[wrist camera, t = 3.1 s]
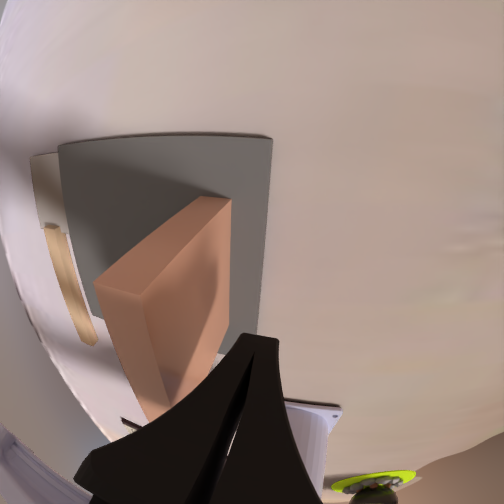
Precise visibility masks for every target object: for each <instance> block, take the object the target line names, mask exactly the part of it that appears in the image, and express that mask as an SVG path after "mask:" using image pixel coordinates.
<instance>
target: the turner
mask: <svg viewBox="0 0 504 504" xmlns="http://www.w3.org/2000/svg"><path fill="white" fill-rule="evenodd" d="M30 165H31V174H32V182H33V189H34V195H35V201H36V207H37V212H38V217H39V222H40V227H41V229H44V232H45V237H46V241H47V245H48V249H49V252H50V256H51V259H52V263H53V266H54V270H55V273H56V276H57V279H58V282H59V285H60V288H61V291H62V294H63V297H64V300H65V302H66V305H67V308H68V310H69V313H70V315H71V318H72V320H73V323H74V325H75V328H76V330H77V332H78V334H79V337H80V339H81V341H82V342H84V343H86V344H89V345H91V346H94V344H95V343H96V342H97V341H98V338H97V336H96V333H95V330H94V328H93V325H92V323H91V320H90V317H89V315H88V312H87V309H86V306H85V303H84V300H83V297H82V294H81V291H80V288H79V284H78V281H77V278H76V274H75V271H74V267H73V263H72V260H71V256H70V252H69V248H68V243H67V239H66V234H65V233H67V234H69V229H68V224H67V218H66V213H65V207H64V201H63V194H62V187H61V179H60V169H59V158H58V152H57V153H50V154H44V155H37V156H32V157H30Z"/></svg>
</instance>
